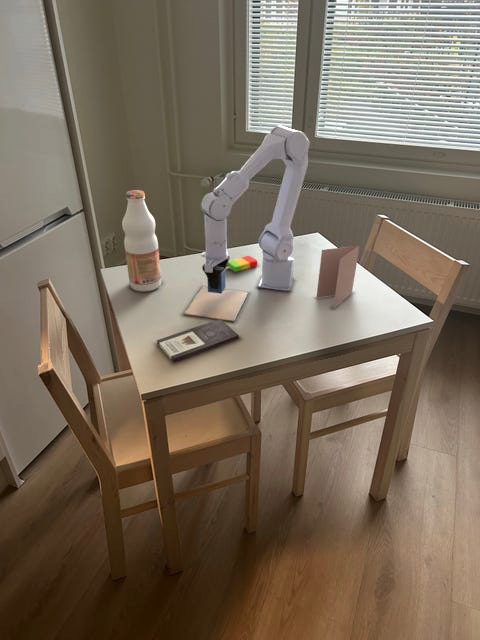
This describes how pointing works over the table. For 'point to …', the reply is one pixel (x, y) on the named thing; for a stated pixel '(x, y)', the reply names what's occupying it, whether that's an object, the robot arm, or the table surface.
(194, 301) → the cork mat
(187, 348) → the chocolate bar
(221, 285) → the blue block
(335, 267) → the greeting card
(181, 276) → the table surface
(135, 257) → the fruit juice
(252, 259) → the popsicle
